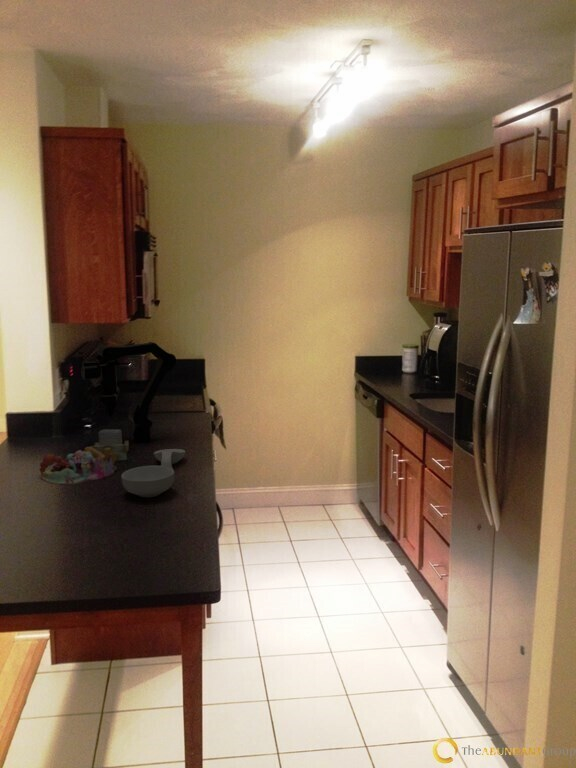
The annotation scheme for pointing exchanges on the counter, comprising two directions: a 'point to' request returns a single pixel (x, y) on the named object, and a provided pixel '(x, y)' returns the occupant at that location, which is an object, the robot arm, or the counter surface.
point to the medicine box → (110, 437)
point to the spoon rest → (169, 456)
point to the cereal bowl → (148, 480)
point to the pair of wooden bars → (114, 449)
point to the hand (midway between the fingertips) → (111, 415)
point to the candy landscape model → (78, 466)
